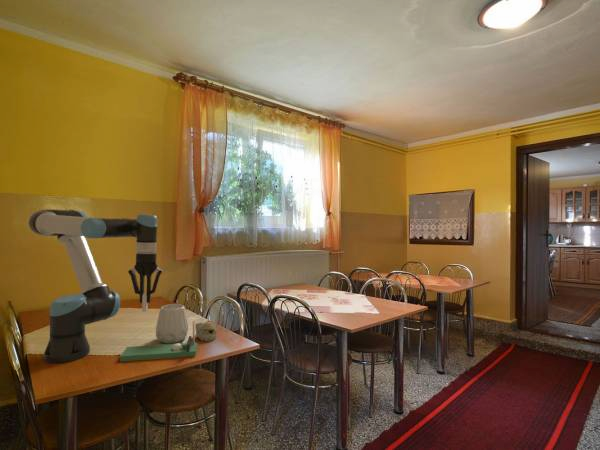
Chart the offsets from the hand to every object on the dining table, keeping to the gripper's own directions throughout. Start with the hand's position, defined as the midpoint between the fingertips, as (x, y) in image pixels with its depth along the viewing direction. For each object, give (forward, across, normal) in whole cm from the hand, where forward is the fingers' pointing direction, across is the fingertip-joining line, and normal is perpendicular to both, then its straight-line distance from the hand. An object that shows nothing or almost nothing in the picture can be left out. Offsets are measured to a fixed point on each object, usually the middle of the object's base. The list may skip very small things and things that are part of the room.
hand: (144, 310), depth 137 cm
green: (+18, +7, 0) cm, 19 cm away
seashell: (+18, +24, +16) cm, 34 cm away
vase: (+18, +9, +16) cm, 26 cm away
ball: (+17, +12, -1) cm, 21 cm away
